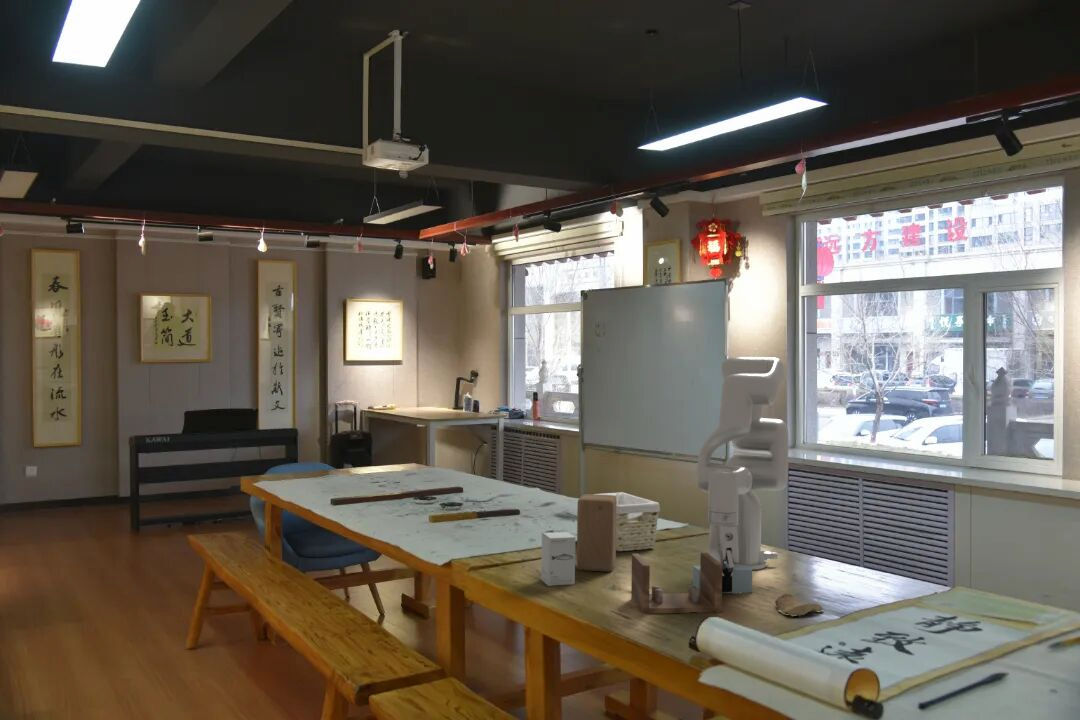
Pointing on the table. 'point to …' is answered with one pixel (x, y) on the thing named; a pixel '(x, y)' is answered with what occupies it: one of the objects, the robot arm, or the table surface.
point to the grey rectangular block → (739, 578)
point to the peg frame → (678, 602)
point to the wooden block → (596, 532)
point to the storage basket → (635, 522)
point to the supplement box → (558, 558)
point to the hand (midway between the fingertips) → (721, 587)
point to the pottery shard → (795, 605)
